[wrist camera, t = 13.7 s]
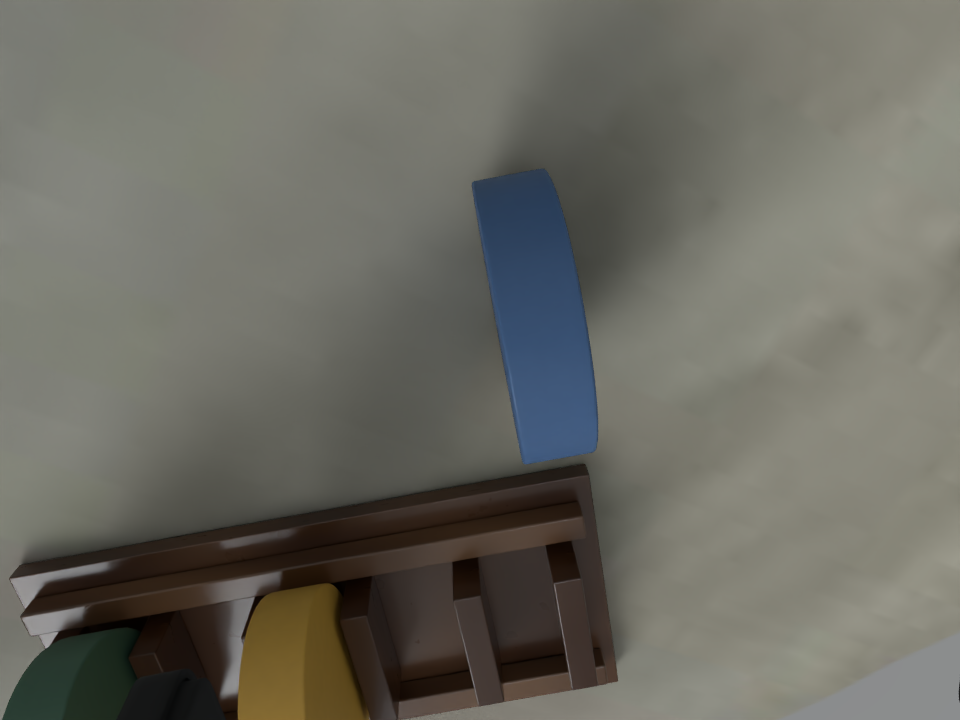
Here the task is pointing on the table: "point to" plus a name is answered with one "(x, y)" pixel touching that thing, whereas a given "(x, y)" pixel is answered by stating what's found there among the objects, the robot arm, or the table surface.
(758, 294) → the table surface
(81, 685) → the green disc
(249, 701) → the mustard disc
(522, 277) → the blue disc
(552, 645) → the disc rack
